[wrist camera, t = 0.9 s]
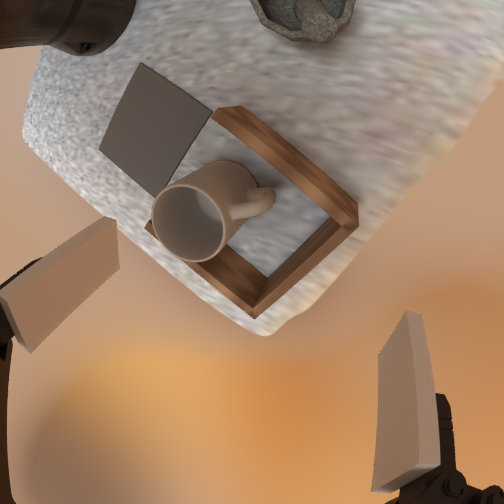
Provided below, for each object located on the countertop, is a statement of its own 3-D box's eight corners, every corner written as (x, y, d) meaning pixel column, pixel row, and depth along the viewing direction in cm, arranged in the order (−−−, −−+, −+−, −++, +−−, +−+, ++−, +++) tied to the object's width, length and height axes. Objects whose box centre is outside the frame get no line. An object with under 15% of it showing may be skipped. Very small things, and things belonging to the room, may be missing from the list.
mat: (100, 148, 41) (98, 149, 41) (141, 62, 33) (139, 62, 33) (158, 199, 42) (157, 200, 42) (212, 111, 34) (211, 112, 34)
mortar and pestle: (256, -6, 26) (215, -44, 16) (331, -30, 22) (320, -81, 12) (293, 72, 30) (266, 58, 19) (372, 50, 26) (384, 24, 16)
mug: (206, 226, 42) (165, 265, 33) (189, 166, 39) (139, 191, 29) (292, 216, 38) (270, 258, 28) (278, 148, 34) (249, 168, 25)
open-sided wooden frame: (172, 208, 42) (144, 228, 36) (241, 106, 33) (217, 108, 27) (268, 288, 44) (254, 319, 38) (357, 203, 34) (358, 226, 28)
